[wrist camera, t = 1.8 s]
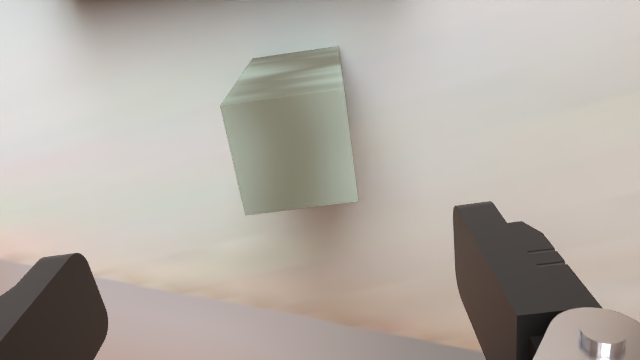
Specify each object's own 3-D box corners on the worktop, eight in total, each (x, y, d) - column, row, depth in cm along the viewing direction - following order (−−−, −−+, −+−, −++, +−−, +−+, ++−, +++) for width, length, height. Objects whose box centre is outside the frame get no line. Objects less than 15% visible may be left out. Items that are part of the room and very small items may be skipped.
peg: (338, 46, 23) (344, 88, 16) (348, 128, 25) (358, 201, 18) (252, 58, 24) (220, 106, 16) (268, 139, 25) (245, 215, 18)
